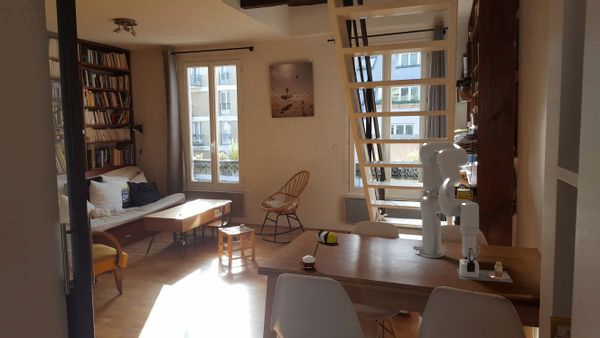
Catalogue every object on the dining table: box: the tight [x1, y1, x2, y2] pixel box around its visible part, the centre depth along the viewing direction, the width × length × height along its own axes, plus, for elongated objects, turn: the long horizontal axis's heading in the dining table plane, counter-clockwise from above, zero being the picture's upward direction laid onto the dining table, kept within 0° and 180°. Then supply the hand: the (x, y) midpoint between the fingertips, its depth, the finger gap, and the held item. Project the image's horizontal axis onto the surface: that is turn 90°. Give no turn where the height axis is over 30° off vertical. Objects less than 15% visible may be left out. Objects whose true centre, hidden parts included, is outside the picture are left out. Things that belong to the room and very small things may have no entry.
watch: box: [474, 243, 481, 261], centre depth 205 cm, size 6×8×11 cm
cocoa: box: [299, 242, 319, 268], centre depth 206 cm, size 10×6×12 cm, turn 69°
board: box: [456, 268, 514, 283], centre depth 186 cm, size 21×14×6 cm, turn 74°
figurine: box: [315, 228, 339, 244], centre depth 254 cm, size 8×15×8 cm, turn 46°
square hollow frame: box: [459, 258, 480, 277], centre depth 187 cm, size 7×7×6 cm
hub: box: [487, 261, 511, 280], centre depth 184 cm, size 9×9×6 cm
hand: (469, 268), depth 187 cm, fingers open, 9 cm apart
